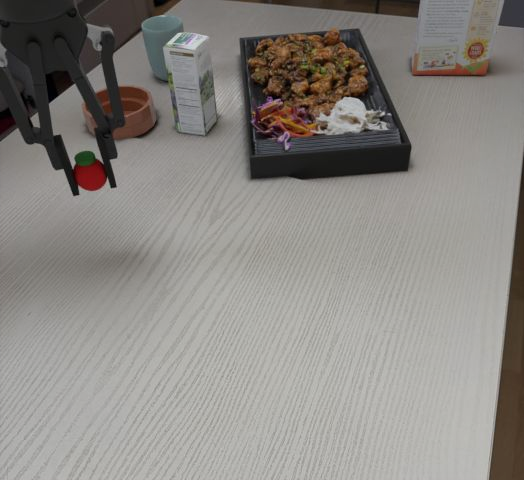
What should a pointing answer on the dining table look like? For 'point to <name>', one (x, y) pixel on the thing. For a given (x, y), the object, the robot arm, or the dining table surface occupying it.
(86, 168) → the strawberry
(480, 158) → the dining table surface
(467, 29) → the cracker box
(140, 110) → the bowl
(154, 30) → the cup
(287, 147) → the food platter
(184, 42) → the syrup box
